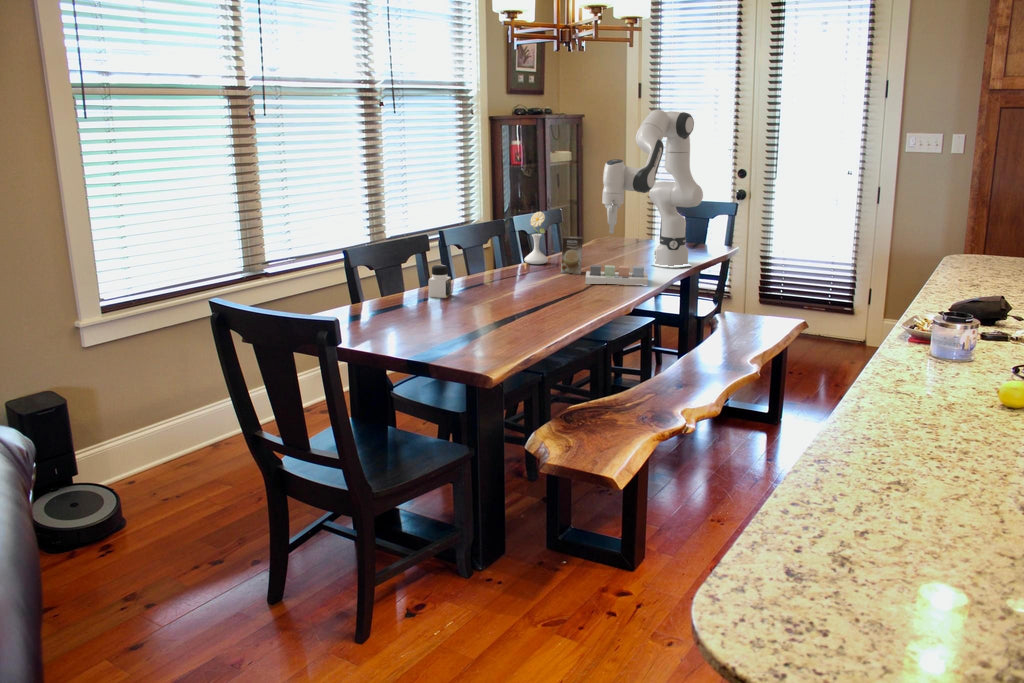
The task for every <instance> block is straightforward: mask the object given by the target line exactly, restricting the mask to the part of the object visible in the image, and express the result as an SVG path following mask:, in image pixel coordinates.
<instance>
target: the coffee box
mask: <svg viewBox="0 0 1024 683" xmlns="http://www.w3.org/2000/svg"><path fill="white" fill-rule="evenodd" d="M561 245H562V246H561V261H560V262H561V263H560V264H561V265H560V274H565V273H573V274H572V275H581V274H582V263H583V262H582V261H583V259H582V258H583V236H576V235H575V236H573V235H571V236H570V235H562V244H561Z"/></svg>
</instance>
